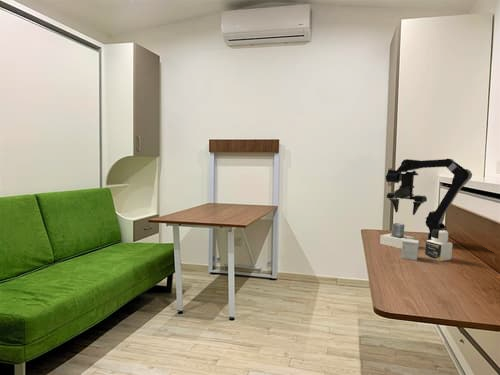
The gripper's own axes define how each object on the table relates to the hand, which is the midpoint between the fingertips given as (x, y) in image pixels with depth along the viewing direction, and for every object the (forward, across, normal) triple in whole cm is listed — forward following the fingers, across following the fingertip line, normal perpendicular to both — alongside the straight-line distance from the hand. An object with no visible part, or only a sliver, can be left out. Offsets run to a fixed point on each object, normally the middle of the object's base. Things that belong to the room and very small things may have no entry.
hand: (404, 213), depth 181 cm
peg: (+13, +6, -17) cm, 22 cm away
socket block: (+13, +6, -17) cm, 22 cm away
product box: (+13, +20, -34) cm, 42 cm away
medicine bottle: (+13, +28, -24) cm, 39 cm away
